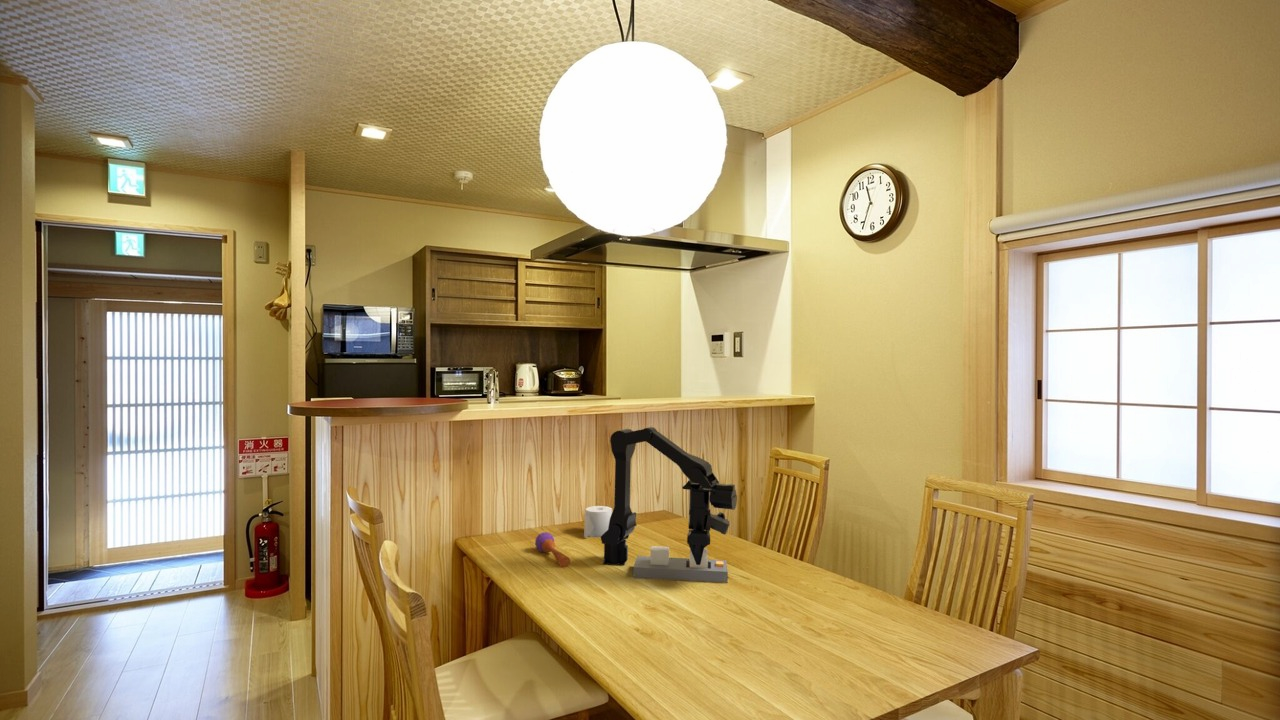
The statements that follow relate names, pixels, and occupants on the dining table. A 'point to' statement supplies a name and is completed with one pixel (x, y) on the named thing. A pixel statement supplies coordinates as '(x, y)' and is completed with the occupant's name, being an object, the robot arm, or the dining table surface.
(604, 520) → the toilet tissue
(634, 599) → the dining table surface
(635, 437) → the robot arm
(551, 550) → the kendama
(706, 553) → the plug
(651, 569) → the power strip
